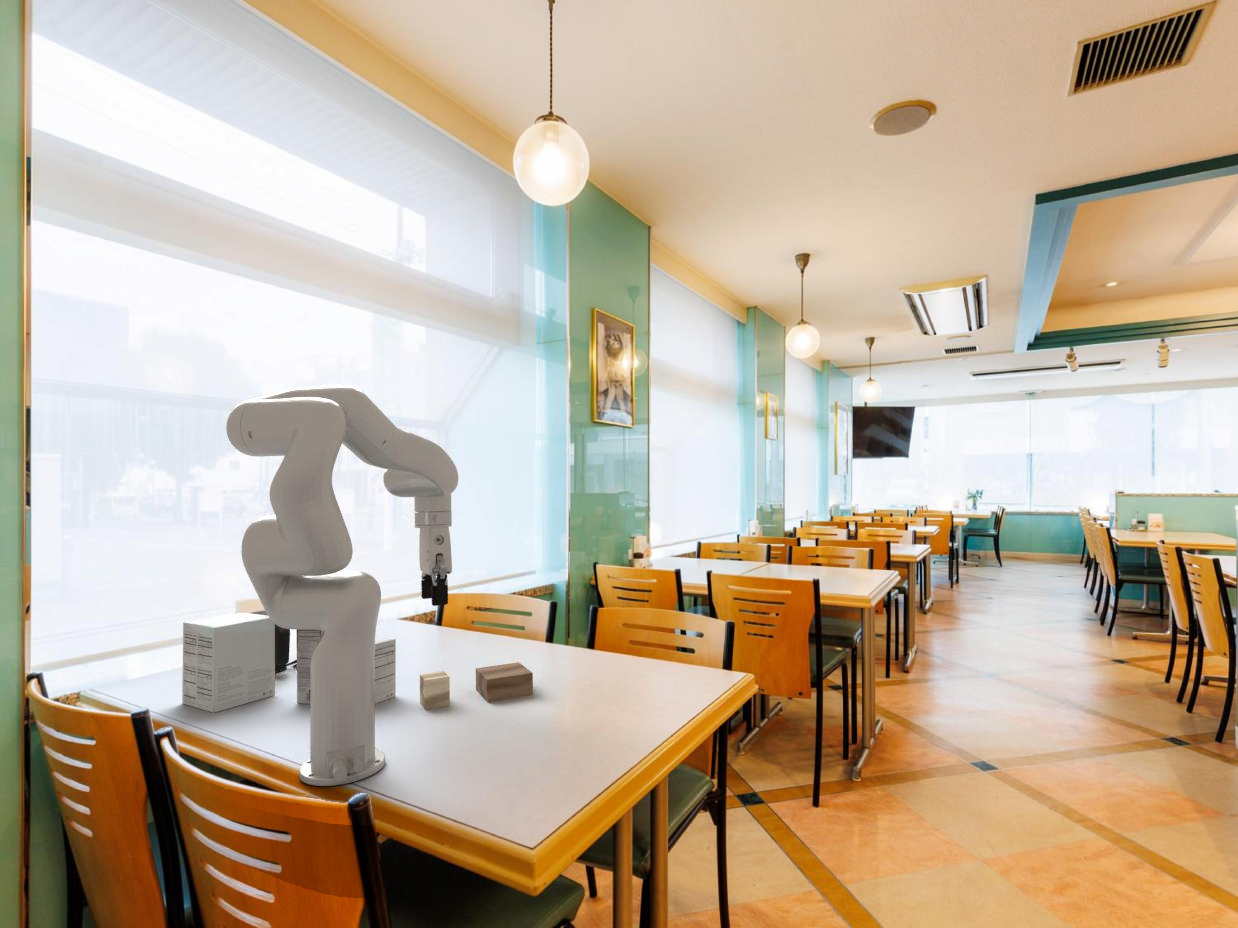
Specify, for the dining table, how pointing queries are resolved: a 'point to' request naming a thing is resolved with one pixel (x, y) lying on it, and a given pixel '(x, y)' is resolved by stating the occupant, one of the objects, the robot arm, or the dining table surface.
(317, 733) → the robot arm
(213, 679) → the supplement box
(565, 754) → the dining table surface
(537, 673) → the dining table surface
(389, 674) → the supplement box
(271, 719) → the dining table surface
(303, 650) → the coffee box
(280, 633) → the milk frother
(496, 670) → the walnut block
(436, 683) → the maple block
